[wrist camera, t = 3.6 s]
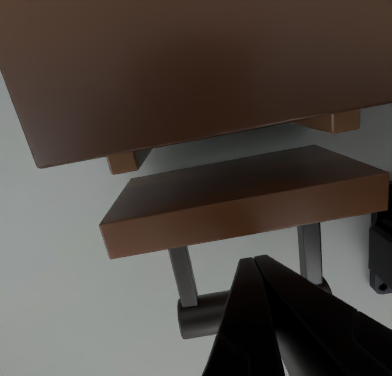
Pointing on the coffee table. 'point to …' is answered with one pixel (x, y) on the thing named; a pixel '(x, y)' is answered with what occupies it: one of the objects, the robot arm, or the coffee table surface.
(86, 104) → the cabinet
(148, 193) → the drawer
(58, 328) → the coffee table surface
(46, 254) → the coffee table surface
